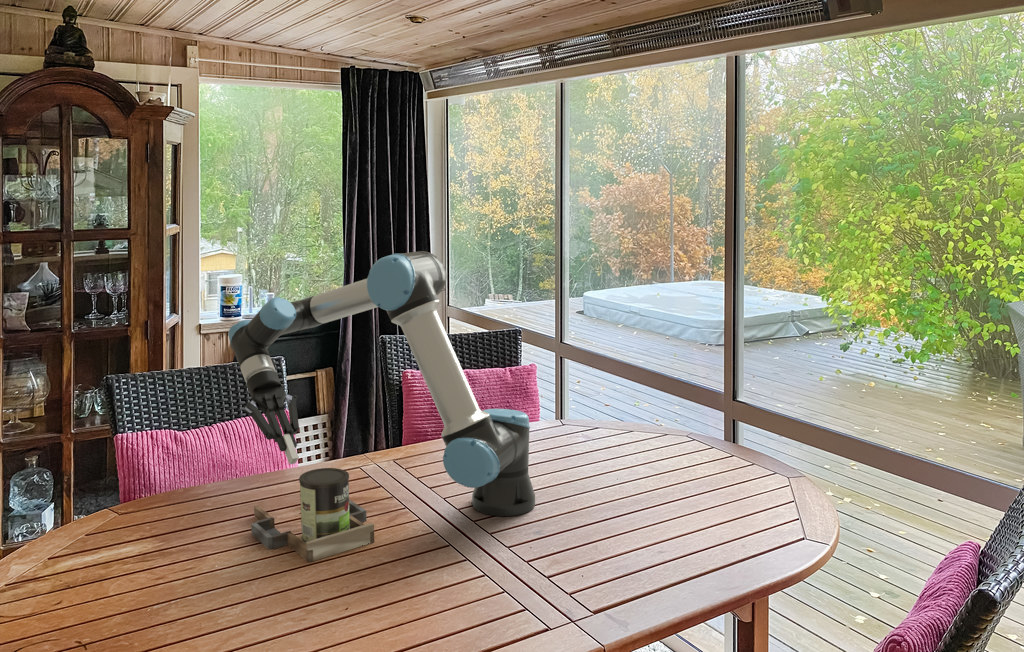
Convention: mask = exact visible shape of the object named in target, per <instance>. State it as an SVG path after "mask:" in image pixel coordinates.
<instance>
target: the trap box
mask: <svg viewBox="0 0 1024 652" xmlns="http://www.w3.org/2000/svg"><path fill="white" fill-rule="evenodd" d="M253 516H254V518H255V519H256V518H257V519H256V521H254V522H252V523H251V525H250V528H251V535H252V536H253V537H254V538H255V539H256V540H257V541H258V542H260V544H261V545H263V546H264V547H265V548H266V549H268V550H270V549H273V550H275V549H278V548H282V547H284V546H285V547H286V546H289V547H290V549H292V550H293V551H295V553H297V554H298V555H299V556H300V557H301V558H303V559H304V560H305V561H306V562H307V563H311V562H314V561H317V560H321V559H324V558H327V557H331V556H334V555H337V554H340V553H343V552H346V551H347V552H348V551H349V550H353V549H357V548H360V547H363V546H366V545H369V544H372V542H373V543H374V542H375V524H374V523H373V522H369V523H366V524H364V523H365V522H367V510H366V509H365V508H364V507H363V506H360V505H359V504H357V503H355V502H354V501H352V499H349V521H350V529H349V530H345V531H342V532H338V533H335V534H332V535H328V536H325V537H321V538H318V539H315V540H311V541H308V542H306V543H304V542H303V541H302V538H299V537H298V536H297V535H296V534H294V533H293V532H292V531H291V530H288V531H285V532H281V531H279V530H278V529H277V528H276V527H275V518H274V517H273V516H272V515H270V513H269V512H267V511H265V510H264V509H263V508H262V507H261V506H260V505H255V506H253ZM363 522H364V523H363ZM368 543H369V544H368ZM362 545H363V546H362Z"/></svg>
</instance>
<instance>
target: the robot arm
mask: <svg viewBox="0 0 1024 652" xmlns="http://www.w3.org/2000/svg"><path fill="white" fill-rule="evenodd" d="M446 283H447V270H446V267H445V265H444V263H443V262H442V260H441V259H440V258H439V257H438V256H437V255H436V254H434V253H431V252H428V251H423V250H420V251H419V250H417V251H413V252H405V253H404V252H403V253H401V252H400V253H392V254H390V255H386V256H384V257H381V258H379V259H377V261H375V262H374V264H373V265H372V266H371V267H370V269H369V272H368V275H367V278H364V279H362V280H358V281H355V282H352V283H350V284H345V285H343V286H340V287H337V288H333V289H331V290H328V291H325V292H322V293H319V294H317V295H312V296H309V297H307V298H304V299H300V300H295V301H291V302H290V301H289V300H288V299H286V298H281V297H279V296H275V297H273V298H271V299H269V300H268V301H267V302H266V303H265V304H263V305H262V307H261V308H260V310H259V311H258V312H257V313H256V314H255V315H254V316H253V317H252V318H251V320H250V319H245V320H240V321H238V322H237V323H235V324H232V325H231V326H230V328H229V329H228V333H227V335H228V339H229V342H230V347H231V349H232V351H233V353H234V355H235V358H236V361H237V363H238V366H239V368H240V371H241V374H242V376H243V379H244V382H245V383H246V387H247V389H248V393H249V395H250V401H249V402H247V403H246V405H245V407H244V409H243V411H244V412H245V413H246V414H247V415H248V416H250V417H251V418H252V420H253V421H254V423H255V424H256V426H257V427H258V428H259V430H260V431H261V433H262V434H263V435H264V437H265V439H266V440H269V441H270V440H273V441H274V442H275V443H277V446H278V449H279V450H280V452H281V453H282V452H283V453H284V454H285V456H286V459H287V461H288V464H289V465H294V464H296V463H297V462H298V460H299V455H298V452H297V449H296V448H297V446H298V442H297V440H296V437H295V435H296V434H297V432H299V429H300V424H299V416H298V415H299V414H298V409H297V400H298V395H297V394H293V395H290V394H288V393H287V391H286V390H284V388H283V386H282V385H283V384H282V383H281V380H280V378H279V375H278V373H277V371H276V368H275V366H274V363H273V361H272V358H271V356H270V353H269V350H268V348H269V347H271V345H272V344H273V343H274V342H275V341H276V340H277V339H278V338H279V337H280V336H282V335H288V334H291V333H294V332H298V331H302V330H307V329H312V328H316V327H319V326H321V325H323V324H327V323H329V322H334V321H337V320H340V319H343V318H346V317H350V316H353V315H356V314H359V313H363V312H366V311H369V310H372V309H373V310H374V309H375V308H380V309H382V310H384V311H386V313H387V315H388V318H389V320H390V321H391V323H392V324H395V325H398V326H399V327H400V328H401V330H402V332H403V334H404V336H405V339H406V342H407V343H408V345H409V348H410V350H411V353H412V355H413V358H414V360H415V362H416V363H417V364H416V365H417V366H418V368H419V371H420V373H421V375H422V377H423V379H424V380H423V381H424V382H425V384H426V387H427V388H428V391H429V394H430V396H431V398H432V401H433V402H434V404H435V407H436V409H437V411H438V414H439V416H440V418H441V419H440V420H442V423H443V428H442V429H443V430H442V432H441V438H442V440H443V443H444V445H445V449H444V452H443V453H444V454H443V456H442V463H443V466H444V467H443V468H444V470H445V472H446V473H447V474H448V476H449V478H451V479H452V480H453V481H454V482H456V483H457V484H458V485H461V486H463V487H466V488H469V489H470V488H471V489H472V488H473V490H472V497H471V505H472V507H473V508H474V509H475V510H476V511H478V512H480V513H482V514H486V515H490V516H497V517H513V516H519V515H523V514H526V513H528V512H530V511H532V510H533V509H534V507H535V506H536V493H535V490H534V488H533V485H532V481H531V478H530V475H529V463H530V462H529V461H530V460H529V455H530V429H531V426H530V417H529V416H528V414H527V413H526V412H524V411H521V410H517V409H508V408H487V409H483V410H482V409H481V408H480V407H479V404H478V402H477V399H476V397H475V395H474V392H473V390H472V389H471V386H470V383H469V381H468V379H467V378H466V375H465V373H464V370H463V367H462V365H461V364H460V361H459V359H458V356H457V354H456V352H455V349H454V348H453V346H452V343H451V340H450V338H449V337H448V334H447V331H446V329H445V327H444V325H443V322H442V321H441V320H442V319H441V318H440V315H439V314H438V310H437V309H438V306H439V304H440V302H441V301H440V299H439V295H440V294H441V292H442V291H443V290H444V288H445V285H446ZM285 402H286V405H287V406H288V416H287V413H286V410H285V405H284V403H285ZM259 409H260V410H261V411H262V412H263V413H261V411H260V410H259ZM263 414H264V415H263ZM288 417H289V418H288ZM531 509H532V510H531Z"/></svg>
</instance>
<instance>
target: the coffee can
mask: <svg viewBox="0 0 1024 652" xmlns="http://www.w3.org/2000/svg"><path fill="white" fill-rule="evenodd" d="M298 479H299V481H298V482H299V487H300V488H299V491H300V492H299V493H300V495H299V496H300V517H301V519H300V521H301V522H300V523H301V524H300V525H301V540H302V541H303V542H304V543H306V542H308V541H311V540H315V539H318V538H321V537H325V536H328V535H332V534H335V533H338V532H342V531H345V530H349V529H350V521H349V500H350V486H349V485H350V482H349V480H350V473H349V472H348V471H347V470H346V469H345V470H344V469H341V468H337V467H321V468H315V469H311V470H308V471H305V472H304V473H302V474H300V476H299V478H298Z"/></svg>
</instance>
